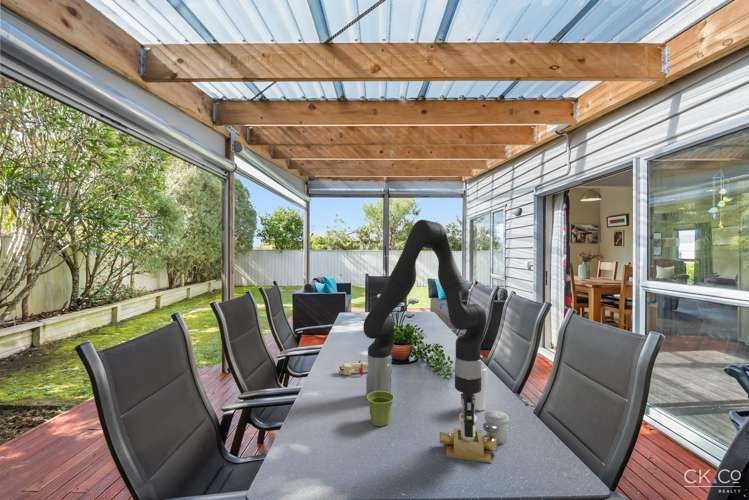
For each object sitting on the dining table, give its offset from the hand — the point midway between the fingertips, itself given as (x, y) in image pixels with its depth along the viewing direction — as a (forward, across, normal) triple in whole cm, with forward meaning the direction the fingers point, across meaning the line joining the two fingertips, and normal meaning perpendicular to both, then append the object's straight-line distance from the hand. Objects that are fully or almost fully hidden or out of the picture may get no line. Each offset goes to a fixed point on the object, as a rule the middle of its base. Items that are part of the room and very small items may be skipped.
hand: (467, 428), depth 99 cm
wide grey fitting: (+6, -8, +9) cm, 13 cm away
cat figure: (+7, -54, -44) cm, 70 cm away
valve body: (+6, 0, 0) cm, 6 cm away
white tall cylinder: (+6, -28, +5) cm, 29 cm away
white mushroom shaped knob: (+5, +1, 0) cm, 5 cm away
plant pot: (+6, -10, -28) cm, 30 cm away
